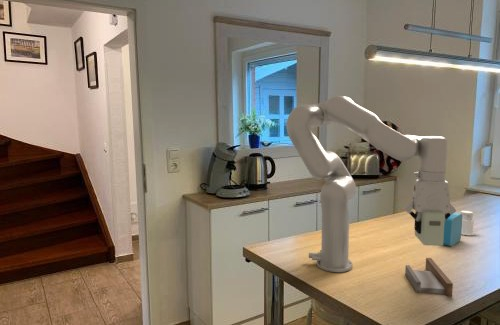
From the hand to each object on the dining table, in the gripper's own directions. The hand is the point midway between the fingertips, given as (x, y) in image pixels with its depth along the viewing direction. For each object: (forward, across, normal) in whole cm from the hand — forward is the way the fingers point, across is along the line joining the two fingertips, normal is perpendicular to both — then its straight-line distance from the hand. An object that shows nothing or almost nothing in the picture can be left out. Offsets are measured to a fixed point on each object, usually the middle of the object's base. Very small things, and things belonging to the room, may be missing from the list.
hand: (428, 232), depth 120 cm
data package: (+17, +22, +41) cm, 50 cm away
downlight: (+17, +33, +54) cm, 66 cm away
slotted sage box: (+3, 0, 0) cm, 3 cm away
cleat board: (+17, 0, +2) cm, 17 cm away
